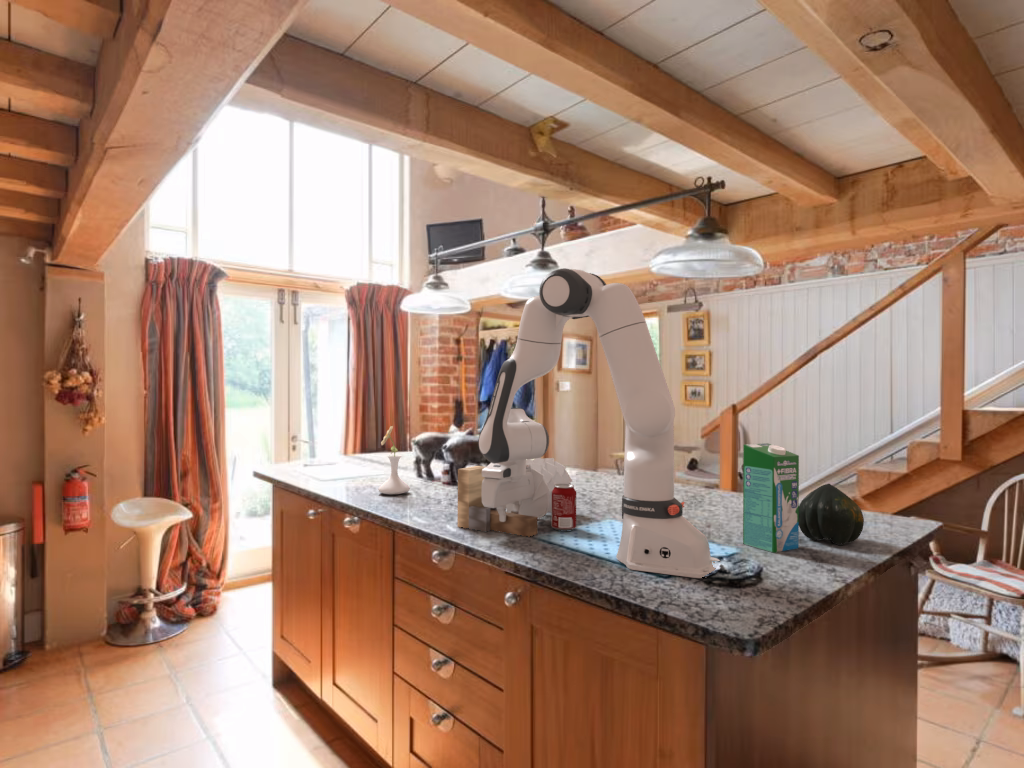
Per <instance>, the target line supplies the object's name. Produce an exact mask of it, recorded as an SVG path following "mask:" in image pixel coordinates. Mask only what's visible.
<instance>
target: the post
mask: <svg viewBox="0 0 1024 768" xmlns="http://www.w3.org/2000/svg"><path fill="white" fill-rule="evenodd" d="M485 467H486V466H484V465H483V466H482V465H476V466H474V465H473V466H469V467H463V468H458V469H457V524H456V525H457V528H461V527H463V528H462V529H466V528H469V530H472V529H475V530H474V531H477V530H481V531H480V532H483V531H488V532H490V531H491V530H490V508H483V507H484V506H483V504H482V482H483V479H484V478H486V477H482V469H484V468H485ZM491 510H495V511H497V507H496V508H491ZM506 511H507V508H506V509H505V512H506ZM489 530H490V531H489Z"/></svg>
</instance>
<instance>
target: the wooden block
mask: <svg viewBox="0 0 1024 768" xmlns="http://www.w3.org/2000/svg"><path fill="white" fill-rule="evenodd" d="M483 508H488V507H483ZM506 514H508V520H507V521H505V522H501V521H500V520H499V513H498V511H495V510H491V508H490V531H492V530H494V532H498V531H500V533H503V532H506V533H505V534H509V533H511V534H510V535H514V534H517V535H516V536H520V535H522V536H521V537H526V536H528V537H527V538H530V536H531V537H532V536H533V535H534V536H536V535H538V521H539V519H538V517H534V516H528V515H521V514H515V513H508V512H506Z"/></svg>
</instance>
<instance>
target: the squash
mask: <svg viewBox="0 0 1024 768" xmlns="http://www.w3.org/2000/svg"><path fill="white" fill-rule="evenodd" d="M864 523H865V519H864V515H863V512H862V509H861V507H860V506H859V505H858V504H857V502H856V501H854V500H853V499H852V498H850V496H848V495H847V494H846V493H844V492H843V491H842V490H841V489H839V488H838V487H836V486H835V485H832V484H831V483H825V484H823V485H821V486H819V487H817V488H815V489H813V490H812V491H810V492H809V493H808V494H807V495H806V496H805V497H804V498H803V499H802V500H801V502H800V503H799V529H800V530H799V531H800V532H801V533H802V535H804V536H805V537H806V538H808V539H809V540H813V541H820V540H821V541H822V540H824V539H825V540H826V541H827V540H828V541H829V540H831V541H832V543H833V544H835V545H838V546H842V545H845V544H849V543H852V542H855V541H856V540H858V538H860V536H861V535H862V532H863V529H864Z"/></svg>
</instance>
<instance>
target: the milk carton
mask: <svg viewBox="0 0 1024 768" xmlns="http://www.w3.org/2000/svg"><path fill="white" fill-rule="evenodd" d="M742 467H743V469H742V470H743V472H742V473H743V475H742V476H743V480H742V483H743V484H742V485H743V493H742V495H743V496H742V500H743V501H742V502H743V503H742V506H743V507H742V509H743V513H742V515H743V517H742V519H743V520H742V524H743V525H742V534H743V535H742V543H743V545H746V546H750V547H752V548H756V549H759V550H762V551H766V552H769V553H774V554H775V553H780V552H786V551H790V550H791V551H792V550H796V549H799V546H800V543H799V541H800V540H799V537H800V536H799V533H800V532H799V531H800V530H799V529H800V527H799V505H800V503H799V499H800V498H799V493H800V489H799V488H800V487H799V486H800V484H799V482H800V481H799V480H800V475H799V473H800V469H799V467H800V456H799V454H796V453H794V452H791V451H789V450H787V448H786V447H783V446H779V445H776V444H771V443H769V442H767V443H751V444H750V443H749V444H748V443H746V444H743V465H742Z"/></svg>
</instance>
